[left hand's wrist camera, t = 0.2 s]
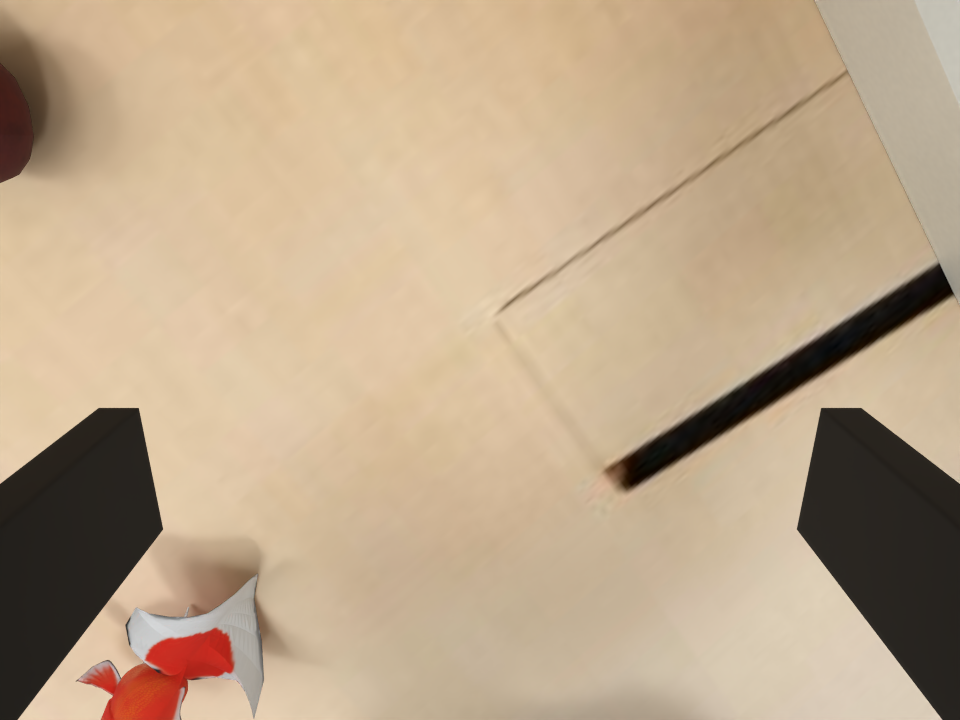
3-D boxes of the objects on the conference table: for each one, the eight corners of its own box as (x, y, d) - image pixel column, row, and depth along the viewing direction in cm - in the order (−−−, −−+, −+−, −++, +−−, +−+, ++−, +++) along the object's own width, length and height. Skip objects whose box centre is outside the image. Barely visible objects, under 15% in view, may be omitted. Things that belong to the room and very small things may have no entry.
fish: (9, 653, 44) (4, 782, 36) (208, 502, 48) (242, 591, 40) (121, 713, 51) (137, 834, 43) (289, 576, 54) (332, 665, 47)
